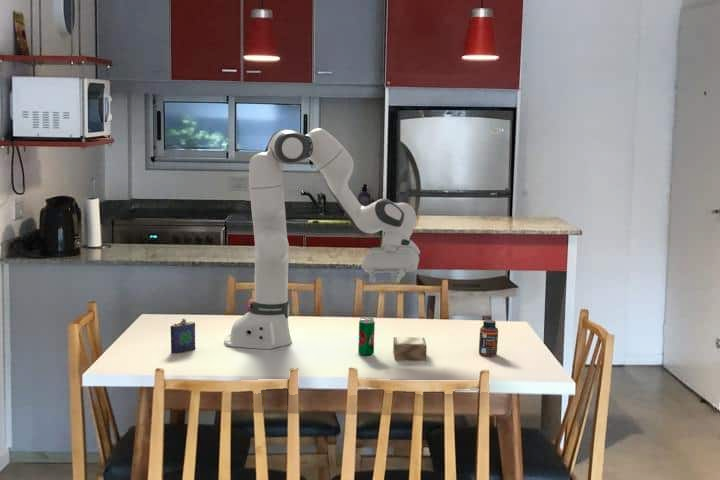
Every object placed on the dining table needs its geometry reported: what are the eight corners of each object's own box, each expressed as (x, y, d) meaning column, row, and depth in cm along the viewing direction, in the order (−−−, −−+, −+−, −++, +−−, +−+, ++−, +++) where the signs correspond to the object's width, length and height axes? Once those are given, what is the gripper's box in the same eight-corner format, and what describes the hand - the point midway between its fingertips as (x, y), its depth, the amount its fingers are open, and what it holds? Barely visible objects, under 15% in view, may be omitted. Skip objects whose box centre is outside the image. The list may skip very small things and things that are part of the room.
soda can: (372, 357, 298) (373, 320, 296) (356, 356, 299) (357, 319, 297) (375, 353, 303) (376, 317, 301) (359, 352, 304) (360, 316, 302)
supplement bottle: (485, 357, 301) (487, 323, 299) (475, 353, 306) (476, 319, 304) (500, 356, 303) (502, 322, 302) (490, 351, 308) (491, 318, 307)
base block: (394, 360, 295) (395, 344, 294) (393, 351, 305) (393, 336, 304) (426, 360, 295) (426, 344, 294) (423, 352, 305) (424, 336, 304)
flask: (192, 347, 304) (192, 315, 303) (197, 349, 302) (197, 317, 301) (169, 352, 298) (168, 320, 296) (174, 354, 296) (174, 321, 294)
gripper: (364, 242, 319) (353, 277, 312) (416, 241, 308) (406, 276, 301) (372, 252, 323) (361, 286, 316) (424, 251, 312) (414, 286, 306)
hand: (384, 282), depth 309 cm, fingers open, 8 cm apart
